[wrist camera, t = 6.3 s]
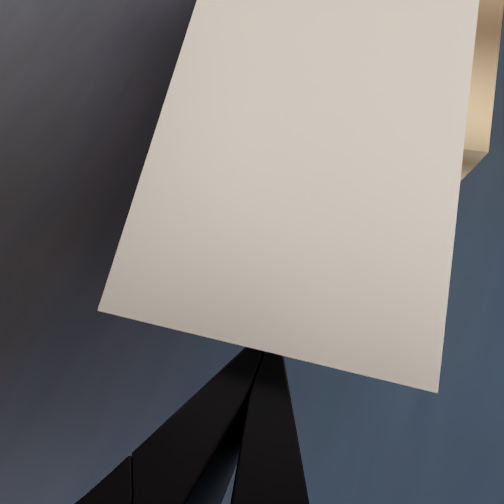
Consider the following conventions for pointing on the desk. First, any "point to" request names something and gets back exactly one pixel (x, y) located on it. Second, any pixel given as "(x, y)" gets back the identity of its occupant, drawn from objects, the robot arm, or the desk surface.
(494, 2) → the birch slot
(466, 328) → the desk surface
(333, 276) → the white cardboard box
